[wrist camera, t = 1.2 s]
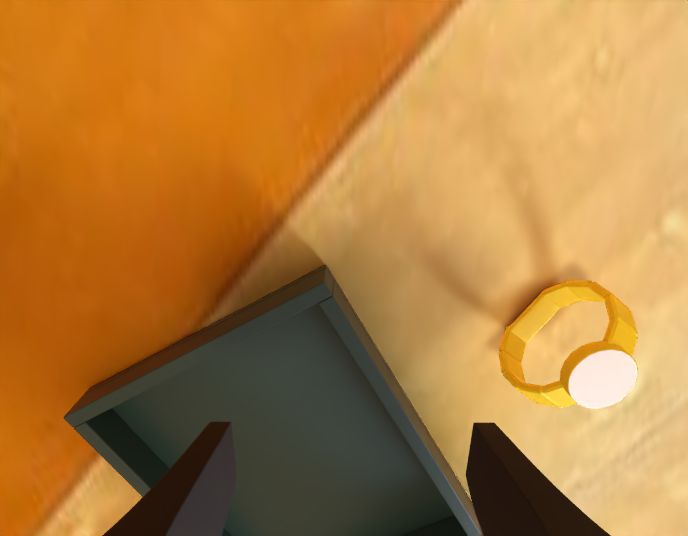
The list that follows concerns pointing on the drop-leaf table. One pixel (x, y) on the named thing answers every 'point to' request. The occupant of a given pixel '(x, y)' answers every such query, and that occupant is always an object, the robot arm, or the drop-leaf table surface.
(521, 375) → the watch
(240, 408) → the tray
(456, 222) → the drop-leaf table surface
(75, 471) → the drop-leaf table surface
